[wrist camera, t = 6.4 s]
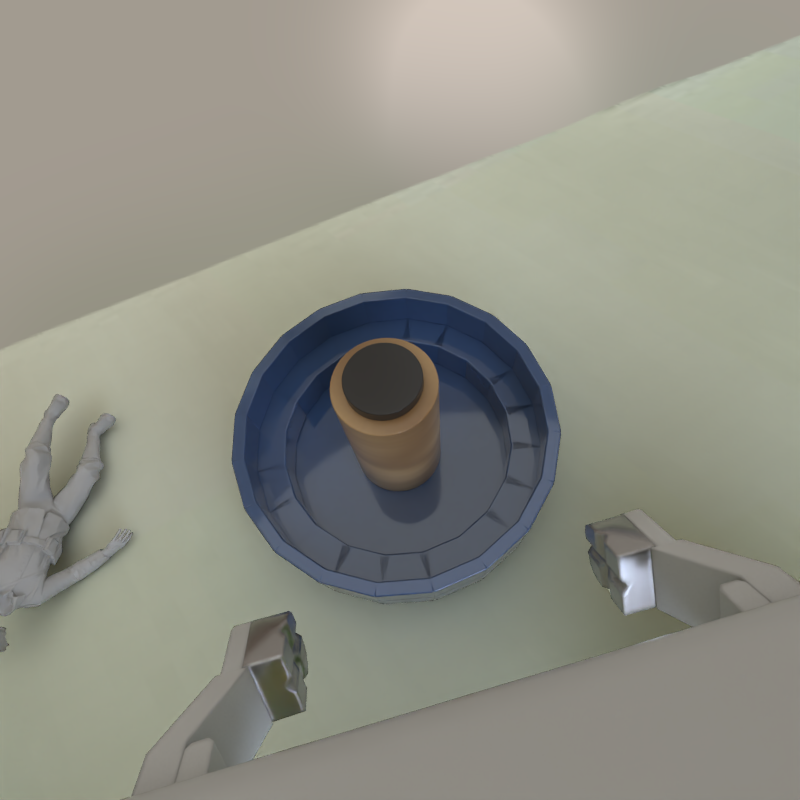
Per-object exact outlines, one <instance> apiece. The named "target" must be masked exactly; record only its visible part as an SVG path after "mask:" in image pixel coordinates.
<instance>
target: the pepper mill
mask: <svg viewBox="0 0 800 800" xmlns="http://www.w3.org/2000/svg"><path fill="white" fill-rule="evenodd" d="M329 390H330V399H331V403H332V406H333V408H334V410H335V412H336V415H337V417H338V419H339V421H340V423H341V425H342V428H343V430H344V432H345V434H346V436H347V438H348V440H349V443H350V445H351V447H352V449H353V451H354V453H355V455H356V458H357V460H358V462H359V464H360V466H361V468H362V470H363V472H364V474H365V475H366V476H367V478H368V479H369V480H370V481H371V482H373V483H374V484H375V485H377V486H379V487H381V488H383V489H386V490H390V491H407V490H410V489H413V488H416V487H418V486H420V485H422V484H423V483H424V482H426V481H427V480H428V479H429V478H430V477H431V476H432V474H433V473H434V471H435V470H436V468H437V466H438V463H439V459H440V411H439V379H438V374H437V371H436V368H435V366H434V364H433V362H432V361H431V359H430V358H429V356H428V355H427V354H426V353H425V352H424V351H422V350H421V349H420V348H419V347H417V346H415V345H414V344H412V343H410V342H407V341H404V340H401V339H396V338H378V339H373V340H369V341H366V342H364V343H361V344H359V345H357V346H356V347H354V348H353V349H351V350H350V351H349V352H347V353H346V354H345V355H344V356H343V357H342V358H341V360H340V361H339V362H338V364H337V365H336V367H335V369H334V371H333V374H332V376H331V381H330V389H329Z"/></svg>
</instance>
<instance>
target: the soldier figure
mask: <svg viewBox="0 0 800 800" xmlns="http://www.w3.org/2000/svg"><path fill="white" fill-rule="evenodd" d="M68 405H69V400H68V399H67V398H66V397H64V396H62V395H59V394H56V395H55V396H54V398H53V400H52V402H51V404H50V406H49V407H48V409H47V410H46V411H45V412H44V418H43V419H42V421H41V422H40V424H39V426H38V428H37V430H36V432H35V434H34V436H33V437H32V439H31V441H30V443H29V445H28V447H27V448H26V449H25V452H26V457H25V458H24V460H23V461H22V462H21V464H20V477H21V480H20V488H19V499H18V510H17V511H14V512H13V513H12V515H11V518H10V522H9V525H8V526H7V528H5V529H2V530H0V615H1V616H7V615H9V614H11V613H12V612H13V611H14V610H15V609H18V608H21V607H24V608H28V607H38V606H40V605H41V604H42V603H44V602H46V601H47V600H49V599H50V598H52V597H53V596H55V595H56V594H57V593H59V592H61V591H62V590H65V589H67V588H68V587H69V586H70V585H72V584H74V583H76V582H77V581H80V580H82V579H83V578H85V577H86V576H87V575H88V574H90V573H92V572H93V571H95V570H96V569H97V568H99V567H100V566H101V565H102V564H104V563H105V562H106V561H107V560H109V559H110V558H111V557H112V555H113V554H115V553H116V552H117V551H118V550H119V549H121V548H122V547H123V546H124V545H125V544H126V543H127V542H128V541H129V539H130V538H131V536H132V534H133V532H131V533H130V531H131V530H129V531H128V532H127V533H126V531H127V529H124V531H123V532H122V533H121V535H120V536H119V534H120V532H121V529H119V530H118V532H117V533H116V535H115V536H114V538H113V539H112V540H111V542H110V543H109V544H108V545H107V546H106V547H105V549H100V550H98V551H96V552H95V553H93V554H91V555H89V556H88V557H86V558H84V559H81V560H79V561H77V562H76V563H74V564H73V565H71V566H70V567H68V568H67V569H64V570H62V571H60V572H57V573H55V574H53V575H51V576H49V577H47V578H46V575H47V572H48V569H49V565H51V564H53V565H55V564H56V562H57V561H58V559H59V557H60V555H61V554H62V552H63V550H62V545H61V544H62V538H63V536H65V535H66V534H67V533H68V531H69V529H70V527H69V526H68V525H69V524H70V523H71V522H72V521H73V519H74V518H75V517H76V515H77V513H78V512H79V510H80V508H81V507H82V505H83V504H84V502H85V501H86V500H87V498H88V495H89V493H90V490H91V488H92V486H93V484H94V483H95V482H96V481H97V480H99V479H100V474H99V471H100V470H102V469H103V468H104V465H103V463H102V461H101V457H100V443H101V442H100V438H99V436H100V435H101V434H103V433H104V432H105V431H106V430H107V429H109V428H110V427H111V426H113V425H114V422H115V421H116V418H115V417H114V416H112V415H110V414H108V413H104V414H102V415H101V416H100V418H99V419H98V421H97V422H96V423H92V424H90V427H89V428H88V436H87V444H86V447H85V450H84V452H83V455H82V459H81V460H80V461H79V465H78V466H77V471H76V473H75V474H73V475H72V476H71V478H70V479H69V481H68V483H67V485H66V486H65V487H64V488H63V489H62V490H61V491H60V492H59V493H58V494H57V495H56V496H55V497H54V498H53V495H52V492H51V488H50V478H49V470H50V466H51V462H52V456H51V453H50V452H51V448H50V445H51V439H52V427H53V425H54V423H55V421H56V419H57V418H59V417H60V415H61V414H62V413H63V412H64V411H65V410H66V409H67V407H68ZM125 533H126V535H125V536H124V534H125ZM129 533H130V534H129ZM128 535H129V536H128ZM118 536H119V537H118ZM123 536H124V537H123ZM127 536H128V537H127ZM117 537H118V538H117ZM122 537H123V538H122ZM121 538H122V539H121ZM126 538H127V539H126ZM5 635H6V628H4V627H0V652H4V651H5V650H6V647H7V646H8V645H9V644H8V643H7V641H6V637H5Z"/></svg>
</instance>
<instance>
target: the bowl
mask: <svg viewBox="0 0 800 800" xmlns="http://www.w3.org/2000/svg"><path fill="white" fill-rule="evenodd" d="M378 338H396V339H401V340H404V341H407V342H410V343H412V344H414V345H415V346H417V347H419V348H420V349H421V350H422V351H424V352H425V353H426V354H427V355H428V356H429V358H430V359H431V361H432V362H433V364H434V366H435V368H436V371H437V374H438V379H439V411H440V459H439V463H438V466H437V468H436V470H435V471H434V473H433V474H432V476H431V477H430V478H429V479H428V480H427V481H426V482H424V483H423V484H422V485H420V486H418V487H416V488H413V489H410V490H407V491H390V490H386V489H383V488H381V487H379V486H377V485H375V484H374V483H373V482H371V481H370V480H369V479H368V478H367V476H366V475H365V474H364V472H363V470H362V468H361V466H360V464H359V462H358V460H357V458H356V455H355V453H354V451H353V449H352V447H351V445H350V443H349V440H348V438H347V436H346V434H345V432H344V430H343V428H342V425H341V423H340V421H339V419H338V417H337V415H336V412H335V410H334V408H333V406H332V403H331V399H330V390H329V389H330V381H331V376H332V374H333V371H334V369H335V367H336V365H337V364H338V362H339V361H340V360H341V358H342V357H343V356H344V355H345V354H346V353H347V352H349V351H350V350H351V349H353V348H354V347H356V346H357V345H359V344H361V343H364V342H366V341H369V340H373V339H378ZM560 432H561V429H560V424H559V420H558V415H557V410H556V406H555V401H554V396H553V392H552V387H551V384H550V382H549V381H548V379H547V377H546V376H545V374H544V372H543V371H542V369H541V367H540V366H539V364H538V362H537V361H536V359H535V357H534V356H533V354H532V352H531V351H530V349H529V347H528V346H527V345H526V343H524V342H523V341H522V340H521V339H520V338H519V337H518V336H516V335H515V334H514V333H513V332H512V331H511V330H510V329H508V328H507V327H506V326H505V325H504V324H503V323H501V322H500V321H499V320H498V319H497V318H496V317H495V316H493V315H492V314H490V313H487V312H485V311H483V310H481V309H479V308H477V307H474V306H472V305H470V304H468V303H466V302H463V301H461V300H459V299H457V298H455V297H452V296H449V295H442V294H436V293H430V292H423V291H417V290H411V289H407V290H406V289H400V290H390V291H381V292H371V293H362V294H358V295H356V296H353V297H350V298H347V299H345V300H342V301H339V302H337V303H334V304H331V305H329V306H326V307H323V308H321V309H319V310H317V311H316V312H314V313H313V314H311V315H310V316H309V317H307V318H306V319H304V320H303V321H302V322H300V323H299V324H297V325H296V326H295V327H293V328H292V329H290V330H289V331H288V332H286V333H285V334H283V335H282V336H281V337H280V338H279V340H278V341H277V342H276V343H275V345H274V346H273V347H272V348H271V350H270V351H269V352H268V353H267V355H266V356H265V357H264V358H263V359H262V361H261V362H260V363H259V364H258V366H257V367H256V368H255V369H254V371H253V372H252V374H251V377H250V379H249V381H248V384H247V386H246V389H245V391H244V394H243V396H242V399H241V401H240V403H239V406H238V408H237V411H236V413H235V422H234V436H233V450H232V465H233V469H234V473H235V476H236V480H237V484H238V487H239V491H240V495H241V498H242V502H243V506H244V509H245V511H246V512H247V514H248V515H249V517H250V518H251V520H252V521H253V522H254V524H255V525H256V527H257V528H258V529H259V531H260V532H261V534H262V535H263V536H264V538H265V539H266V541H267V542H268V544H269V545H270V546H271V548H272V549H273V551H275V553H277V554H278V555H280V556H281V557H283V558H284V559H285V560H287V561H288V562H290V563H291V564H293V565H294V566H296V567H297V568H298V569H300V570H301V571H303V572H304V573H306V574H307V575H309V576H310V577H311V578H313V579H314V580H316V581H317V582H319V583H321V584H323V585H325V586H327V587H329V588H330V589H332V590H334V591H337V592H339V593H343V594H347V595H351V596H354V597H358V598H362V599H366V600H369V601H373V602H377V603H381V604H397V603H410V602H423V601H434V600H438V599H440V598H442V597H445V596H447V595H449V594H451V593H454V592H456V591H458V590H460V589H463V588H465V587H467V586H470V585H472V584H474V583H476V582H479V581H481V579H484V578H485V577H486V576H487V575H488V574H489V573H490V572H491V571H492V570H493V569H494V568H495V567H496V566H498V565H499V564H500V563H501V562H502V561H503V560H504V559H505V558H506V557H507V556H508V555H509V554H510V553H512V552H513V551H514V550H515V549H516V548H517V547H518V546H519V544H520V543H521V541H522V540H523V539H524V537H525V536H526V534H527V533H528V532H529V530H530V529H531V527H532V525H533V523H534V521H535V519H536V517H537V515H538V513H539V511H540V509H541V508H542V506H543V504H544V502H545V500H546V498H547V496H548V494H549V492H550V490H551V488H552V487H553V485H554V481H555V475H556V467H557V460H558V453H559V445H560V438H561V433H560Z"/></svg>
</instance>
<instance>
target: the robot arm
mask: <svg viewBox="0 0 800 800" xmlns="http://www.w3.org/2000/svg"><path fill="white" fill-rule="evenodd" d="M585 534H586V539H587V540H588V541H589V542H590V544H591V547H590V549H589V551H588V555H589V560H590V564H591V567H592V570H593V573H594V574H595V576H596V578H597V580H598V581H599V583H600V584H601V585H602V587H605V588H607V589H610V594H611V599H612V600H613V601H614V602H615V604H616V605H617V606H618V608H619V609H620V610H621V612H622V613H623V614H624V615H629V614H632V613H636V612H640V611H643V610H647V609H651V608H655V607H657V609H659V610H661V611H663V612H665V613H667V614H669V615H670V616H672V617H674V618H676V619H678V620H680V621H682V622H684V623H686V624H688V625H690V626H692V627H691V628H688V629H684V630H681V631H678V632H674V633H671V634H668V635H664V636H661V637H658V638H654V639H651V640H648V641H644V642H641V643H638V644H635V645H631V646H628V647H625V648H621V649H618V650H615V651H611V652H608V653H605V654H601V655H598V656H595V657H592V658H588V659H585V660H582V661H578V662H575V663H572V664H568V665H565V666H562V667H558V668H555V669H552V670H549V671H545V672H542V673H539V674H535V675H532V676H529V677H525V678H522V679H519V680H515V681H512V682H509V683H506V684H502V685H499V686H496V687H492V688H489V689H486V690H482V691H479V692H476V693H472V694H469V695H466V696H462V697H459V698H456V699H452V700H449V701H446V702H443V703H439V704H436V705H433V706H429V707H426V708H423V709H419V710H416V711H413V712H409V713H406V714H403V715H399V716H396V717H393V718H389V719H386V720H383V721H380V722H376V723H373V724H370V725H366V726H363V727H360V728H356V729H353V730H350V731H346V732H343V733H340V734H336V735H333V736H330V737H327V738H323V739H320V740H317V741H313V742H310V743H307V744H303V745H300V746H297V747H293V748H290V749H287V750H283V751H280V752H277V753H273V754H270V755H267V756H264V757H260V758H257V759H254V760H253V758H254V756H255V754H256V753H257V751H258V749H259V747H260V746H261V744H262V742H263V740H264V739H265V737H266V735H267V733H268V732H269V730H270V728H271V726H272V725H273V723H272V722H274V721H277V720H280V719H283V718H286V717H289V716H292V715H295V714H298V713H301V712H304V711H306V697H307V687H306V685H305V682H304V678H305V677H306V675H307V674H308V661H307V653H306V649H305V645H304V642H303V639H302V636H300V635H299V634H297V633H295V632H296V621H295V619H294V617H293V614H292V613H291V612H290V611H287V612H284V613H280V614H276V615H272V616H269V617H265V618H261V619H257V620H254V621H250V622H247V623H243V624H240V625H236V626H234V627H233V628H232V630H231V633H230V637H229V641H228V646H227V650H226V654H225V658H224V662H223V666H222V670H221V674H220V675H217V676H215V677H214V678H213V679H212V680H211V681H210V682H209V684H208V685H207V686H206V687H205V688H204V689H203V690H202V692H201V693H200V694H199V695H198V696H197V697H196V698H195V699H194V701H193V702H192V703H191V704H190V705H189V706H188V707H187V709H186V710H185V711H184V712H183V713H182V714H181V715H180V716H179V718H178V719H177V720H176V721H175V722H174V723H173V724H172V726H171V727H170V728H169V729H168V730H167V731H166V732H165V733H164V735H163V736H162V737H161V738H160V739H159V740H158V741H157V743H156V744H155V745H154V746H153V747H152V748H151V749H150V750H149V752H148V753H147V754H146V756H145V758H144V761H143V764H142V767H141V770H140V773H139V776H138V779H137V781H136V784H135V787H134V790H133V793H132V796H131V797H128V798H124V799H121V800H800V583H799V582H798V581H797V580H795V579H794V578H793V577H791V576H790V575H789V574H787V573H786V572H785V571H783V570H782V569H781V568H780V567H778V566H775V565H772V564H768V563H764V562H761V561H757V560H754V559H750V558H747V557H743V556H740V555H736V554H733V553H729V552H725V551H722V550H718V549H715V548H711V547H708V546H704V545H701V544H697V543H694V542H690V541H686V540H683V539H680V540H675V539H674V538H673V537H672V536H671V535H669V534H668V533H667V532H666V531H665V530H664V529H663V528H662V527H660V526H659V525H658V524H657V523H656V522H655V521H654V520H653V519H651V518H650V517H649V516H648V515H647V514H646V513H645V512H644V511H642V510H641V509H635V510H632V511H629V512H626V513H623V514H621V515H619V516H615V517H612V518H608V519H605V520H602V521H598V522H595V523H591V524H588V525H586V526H585Z"/></svg>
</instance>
